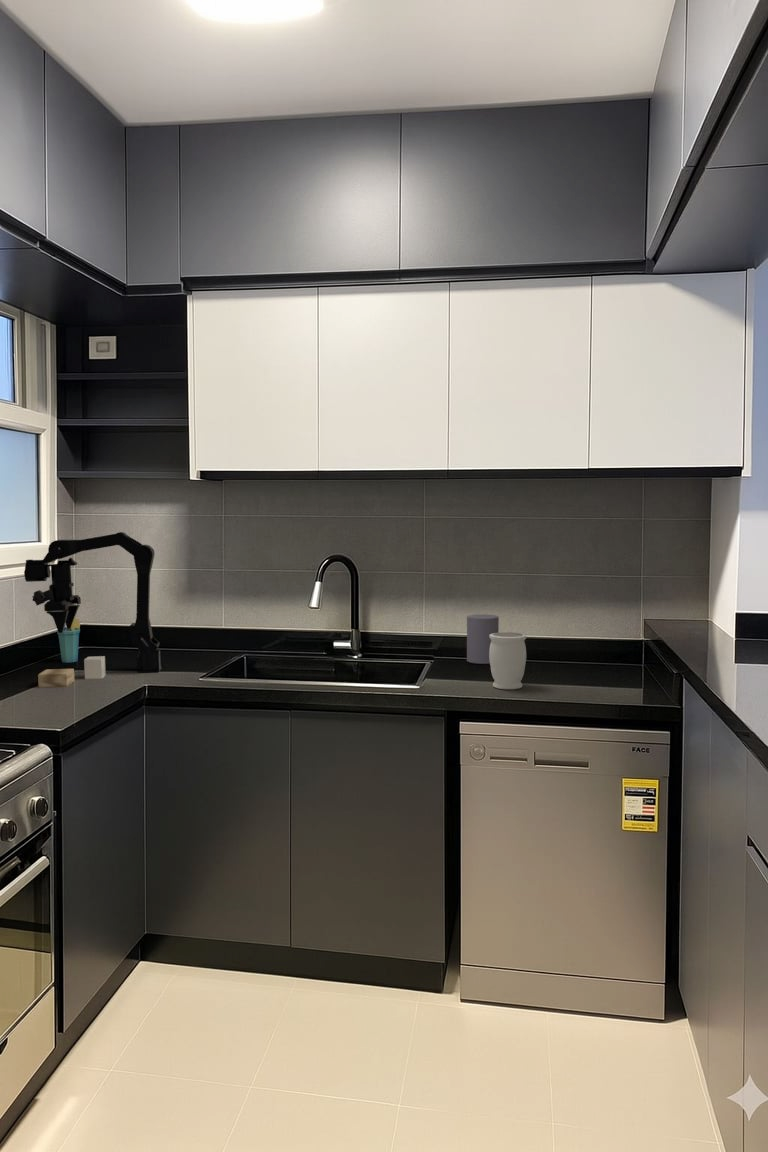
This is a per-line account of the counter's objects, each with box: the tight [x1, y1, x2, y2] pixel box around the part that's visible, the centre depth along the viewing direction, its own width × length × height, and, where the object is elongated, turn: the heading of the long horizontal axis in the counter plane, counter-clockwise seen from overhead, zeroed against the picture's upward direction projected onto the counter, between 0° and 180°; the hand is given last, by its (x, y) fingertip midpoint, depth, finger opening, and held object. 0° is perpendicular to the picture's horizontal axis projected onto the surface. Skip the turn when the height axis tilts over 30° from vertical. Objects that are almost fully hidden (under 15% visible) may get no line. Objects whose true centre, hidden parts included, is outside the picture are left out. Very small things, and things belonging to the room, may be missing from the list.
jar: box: [489, 631, 527, 690], centre depth 249 cm, size 11×10×15 cm
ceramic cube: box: [83, 655, 106, 680], centre depth 268 cm, size 5×5×6 cm
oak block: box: [37, 668, 75, 688], centre depth 258 cm, size 8×8×4 cm
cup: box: [56, 617, 81, 664], centre depth 293 cm, size 14×8×15 cm, turn 177°
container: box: [466, 613, 500, 666], centre depth 288 cm, size 10×10×15 cm
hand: (64, 630), depth 272 cm, fingers open, 9 cm apart
